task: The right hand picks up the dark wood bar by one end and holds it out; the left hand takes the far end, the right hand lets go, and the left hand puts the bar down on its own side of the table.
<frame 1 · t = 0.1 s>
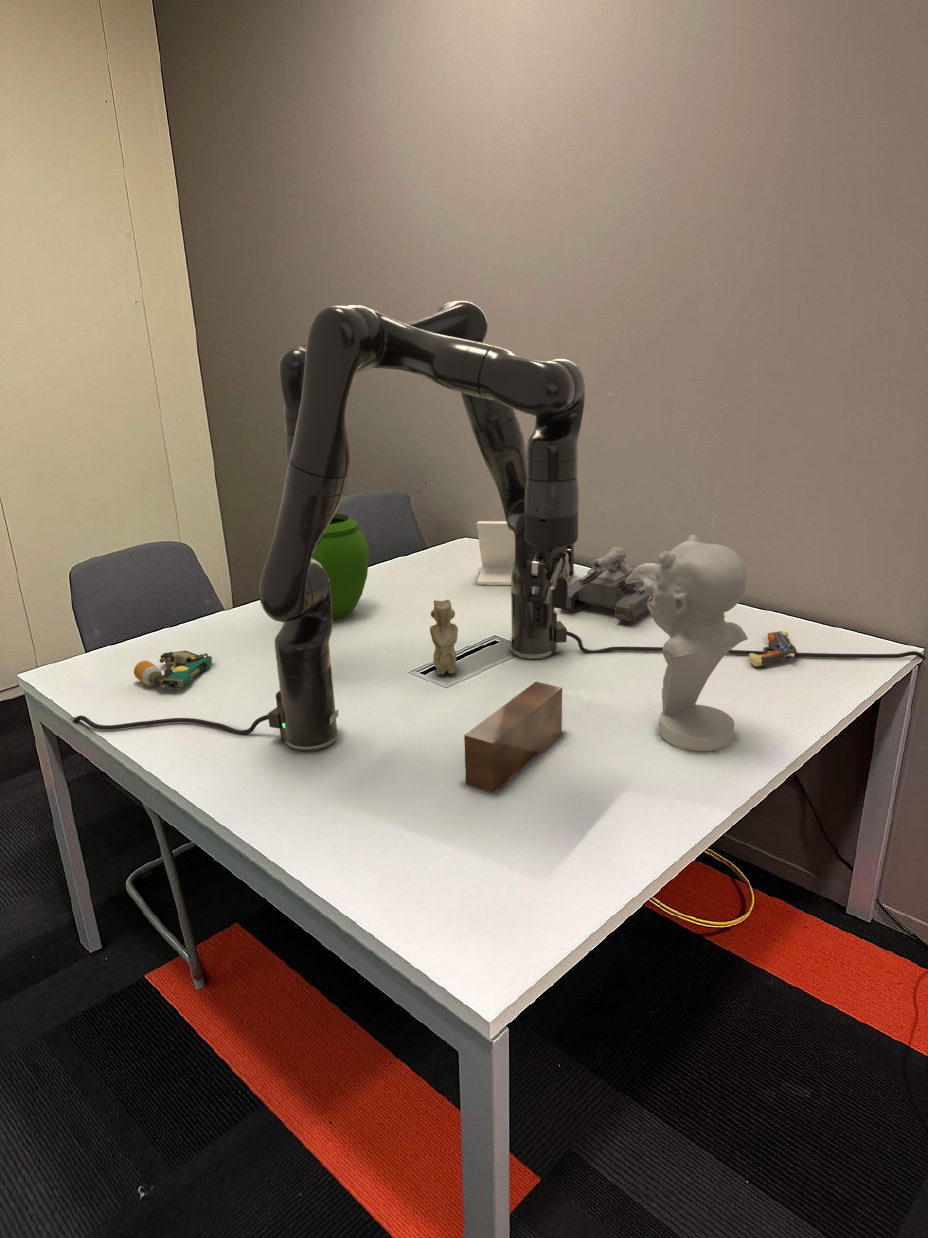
left hand: (550, 617, 125), 29 cm above the table, tool pointing down, fingers open, 8 cm apart
right hand: (314, 538, 170), 30 cm above the table, tool pointing down, fingers open, 8 cm apart
spray gun: (177, 676, 181), on the table
bust sculpture: (675, 729, 153), on the table
tablet stand: (525, 575, 239), on the table
vase: (334, 614, 214), on the table
bar: (516, 757, 145), on the table
toy gun: (769, 652, 184), on the table
toy: (615, 605, 214), on the table
sculpture: (445, 671, 180), on the table
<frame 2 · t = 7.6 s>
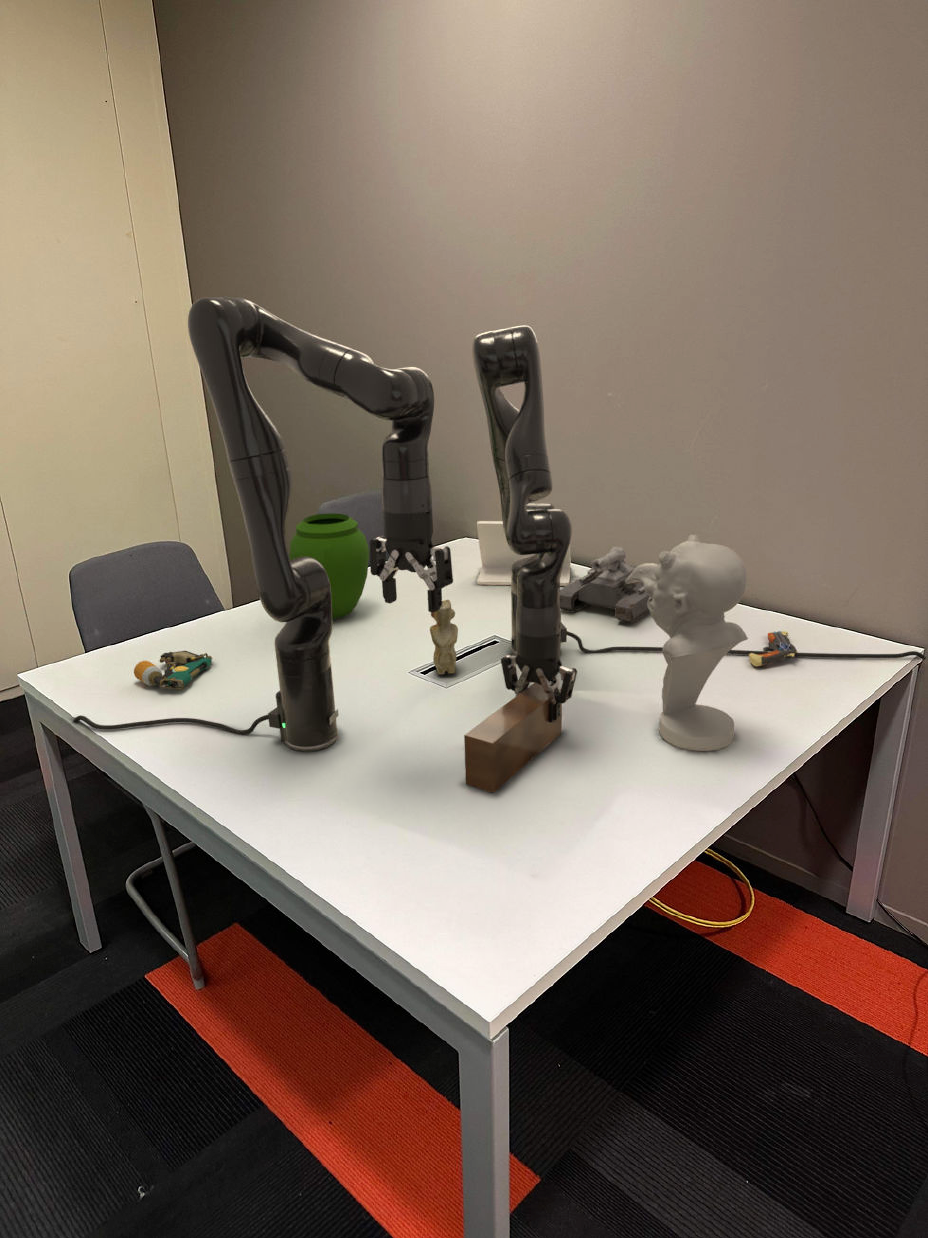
left hand: (412, 606, 135), 28 cm above the table, tool pointing down, fingers open, 8 cm apart
right hand: (538, 716, 150), 4 cm above the table, tool pointing down, fingers closed on bar, 5 cm apart
bar: (516, 757, 145), on the table, touching right hand
everything else where it was.
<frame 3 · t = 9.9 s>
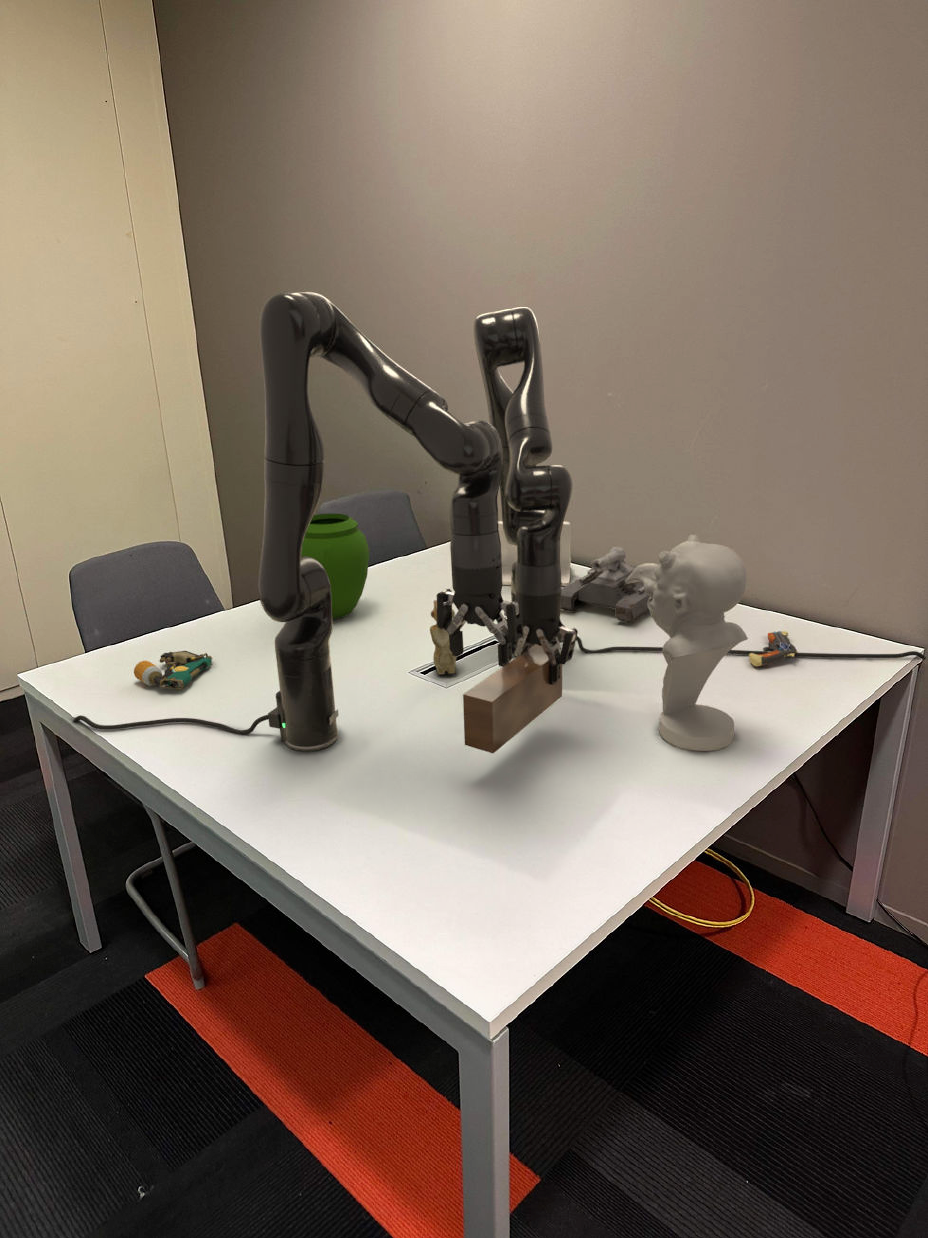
left hand: (480, 659, 132), 21 cm above the table, tool pointing down, fingers open, 8 cm apart
right hand: (538, 678, 147), 12 cm above the table, tool pointing down, fingers closed on bar, 5 cm apart
bar: (515, 719, 143), point 7 cm above the table, touching right hand
everything else where it was.
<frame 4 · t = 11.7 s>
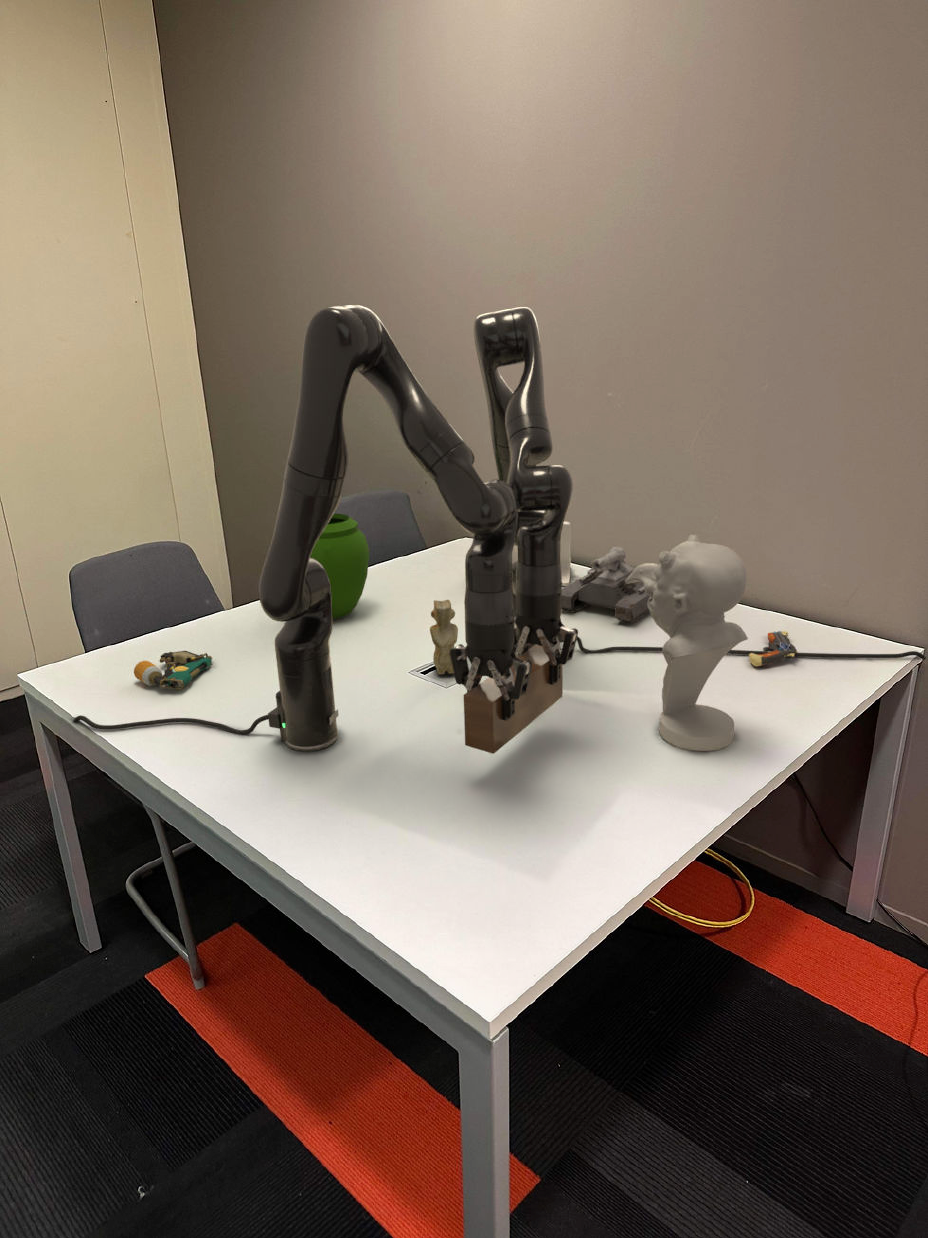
left hand: (491, 713, 135), 12 cm above the table, tool pointing down, fingers closed on bar, 5 cm apart
right hand: (538, 679, 147), 11 cm above the table, tool pointing down, fingers closed on bar, 5 cm apart
bar: (516, 719, 143), point 7 cm above the table, touching right hand, left hand
everything else where it was.
when the right hand's fingers open (12 cm above the table, at t = 12.6 s): bar stays where it is, held by the left hand.
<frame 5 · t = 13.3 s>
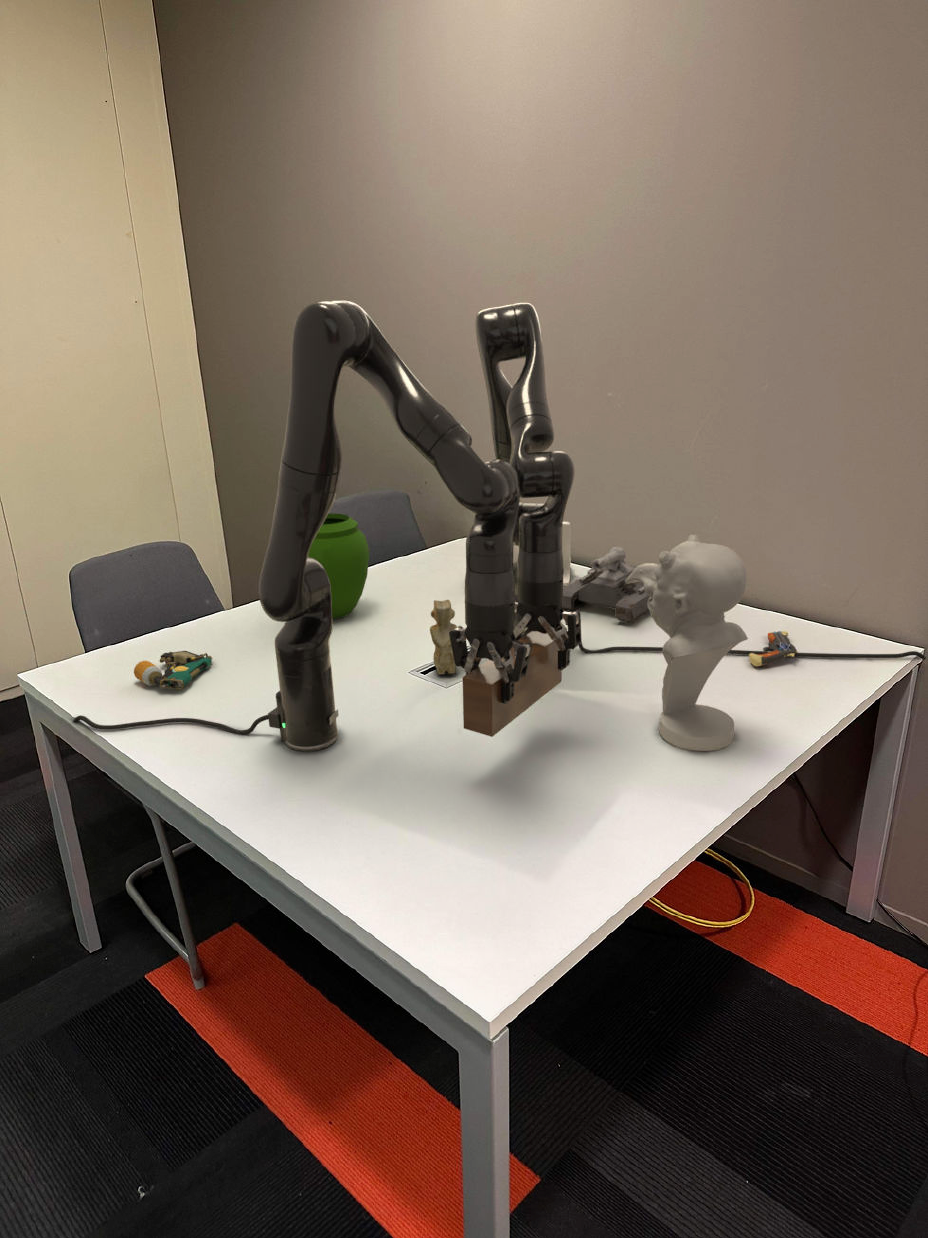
left hand: (490, 696, 134), 15 cm above the table, tool pointing down, fingers closed on bar, 5 cm apart
right hand: (540, 663, 146), 14 cm above the table, tool pointing down, fingers open, 8 cm apart
bar: (515, 703, 142), point 10 cm above the table, touching left hand
everything else where it was.
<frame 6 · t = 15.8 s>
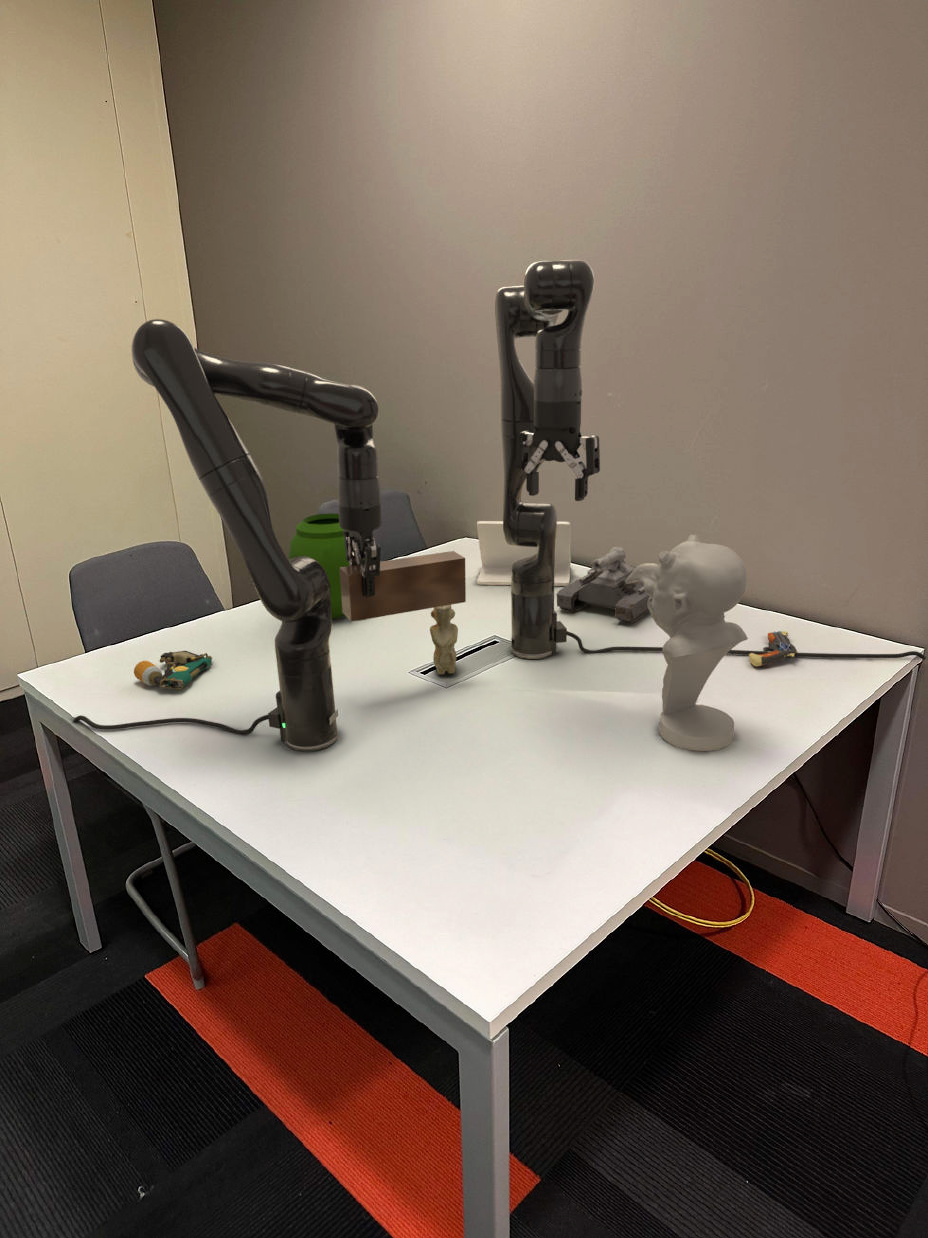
left hand: (363, 590, 158), 23 cm above the table, tool pointing down, fingers closed on bar, 5 cm apart
right hand: (556, 497, 141), 42 cm above the table, tool pointing down, fingers open, 8 cm apart
bar: (405, 607, 163), point 18 cm above the table, touching left hand
everything else where it was.
when the left hand's fingers open (5 cm above the table, at t = 20.3 s): bar stays where it is, on the table.
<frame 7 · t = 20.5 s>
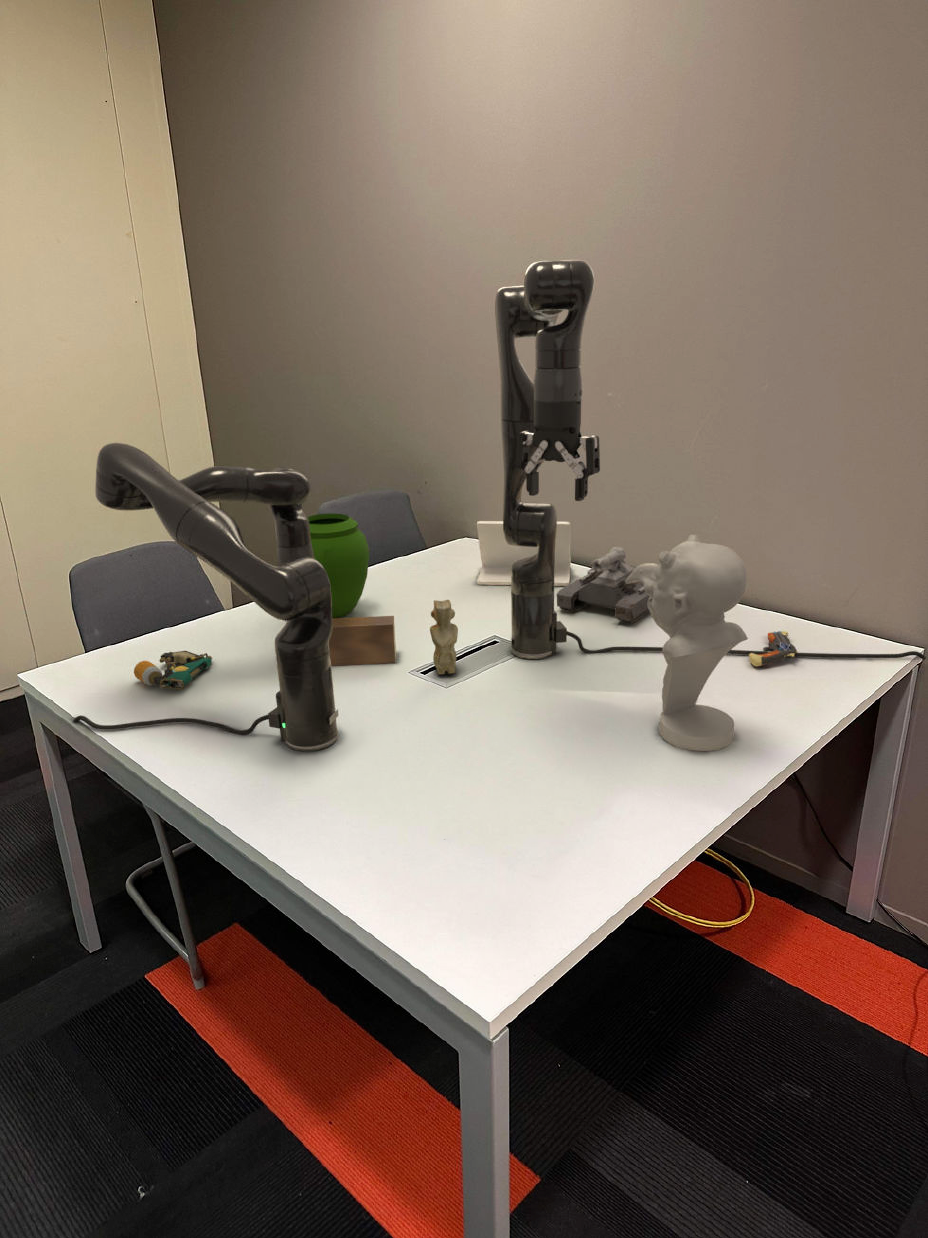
left hand: (303, 637, 184), 6 cm above the table, tool pointing down, fingers open, 6 cm apart
right hand: (556, 497, 141), 42 cm above the table, tool pointing down, fingers open, 8 cm apart
bar: (342, 660, 186), on the table
everything else where it was.
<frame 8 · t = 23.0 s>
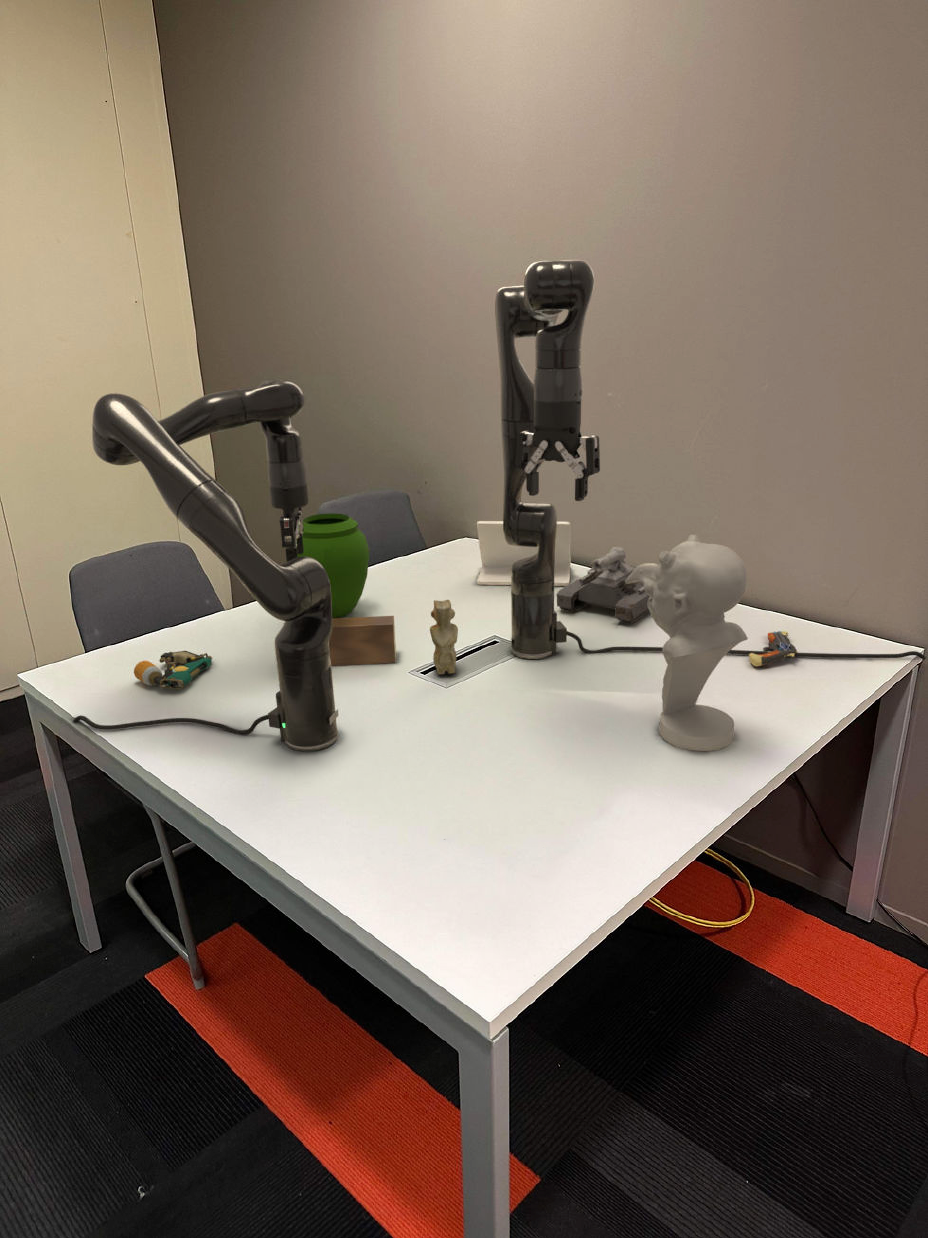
left hand: (295, 559, 178), 23 cm above the table, tool pointing down, fingers open, 8 cm apart
right hand: (556, 497, 141), 42 cm above the table, tool pointing down, fingers open, 8 cm apart
nothing on the table moved.
at the end: bar inside the target area (8.0 cm from its centre), on the table; the left hand is holding nothing; the right hand is holding nothing; bar at rest at the end (0.0 cm/s) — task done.
